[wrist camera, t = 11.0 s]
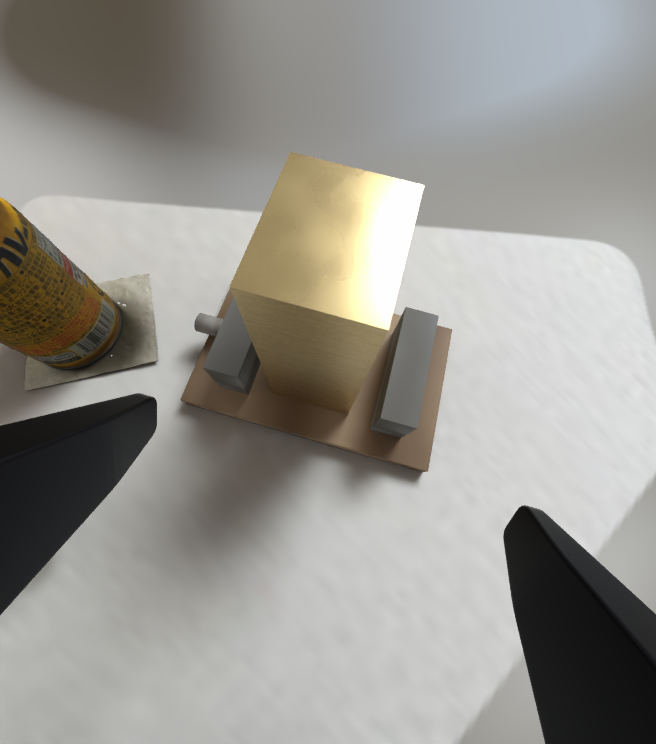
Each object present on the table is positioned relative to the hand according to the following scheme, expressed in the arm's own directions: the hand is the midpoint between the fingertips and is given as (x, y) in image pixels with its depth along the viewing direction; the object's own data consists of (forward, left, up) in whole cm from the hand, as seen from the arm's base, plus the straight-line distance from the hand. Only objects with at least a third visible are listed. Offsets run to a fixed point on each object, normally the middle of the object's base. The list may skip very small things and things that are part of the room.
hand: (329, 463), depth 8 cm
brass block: (+7, -3, -13) cm, 15 cm away
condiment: (+15, +12, -14) cm, 23 cm away
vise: (+7, -3, -14) cm, 15 cm away
